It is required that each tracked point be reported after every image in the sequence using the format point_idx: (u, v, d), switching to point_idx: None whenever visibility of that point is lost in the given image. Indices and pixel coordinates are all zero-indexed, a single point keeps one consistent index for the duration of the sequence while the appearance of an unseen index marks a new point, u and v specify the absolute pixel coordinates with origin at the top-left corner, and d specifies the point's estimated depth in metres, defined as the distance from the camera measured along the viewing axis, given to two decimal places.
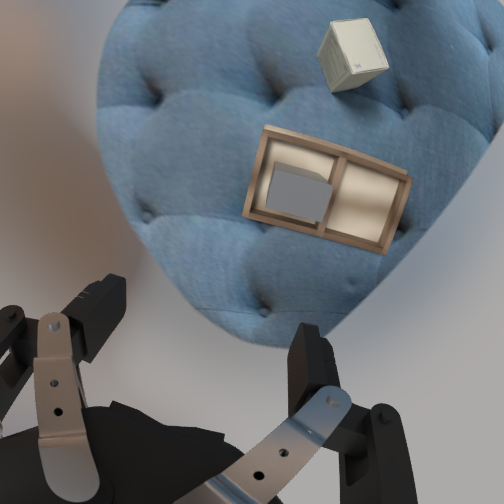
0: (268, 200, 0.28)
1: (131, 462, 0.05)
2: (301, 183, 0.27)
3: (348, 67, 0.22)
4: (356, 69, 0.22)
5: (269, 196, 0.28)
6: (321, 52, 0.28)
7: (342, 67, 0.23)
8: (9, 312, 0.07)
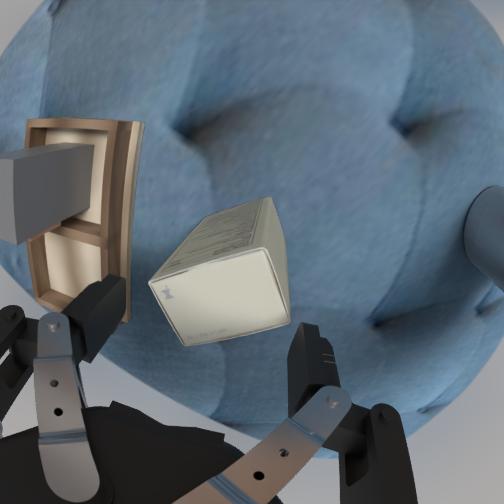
0: None
1: (131, 462, 0.05)
2: (8, 200, 0.14)
3: (162, 274, 0.13)
4: (158, 290, 0.13)
5: None
6: (258, 207, 0.20)
7: (181, 256, 0.15)
8: (9, 312, 0.07)
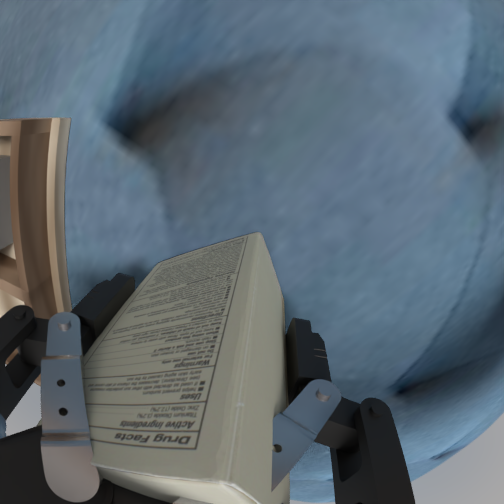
0: None
1: None
2: None
3: None
4: None
5: None
6: (237, 261, 0.11)
7: None
8: (19, 312, 0.07)
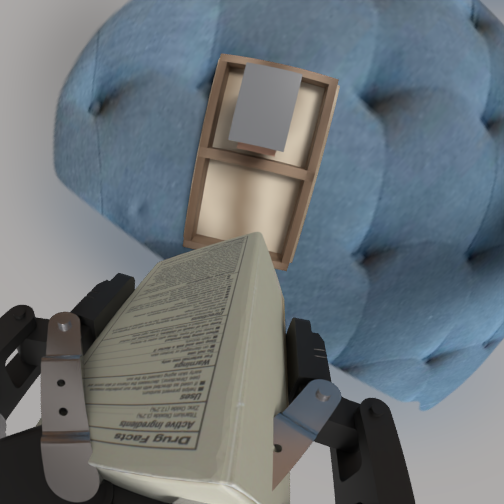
0: (257, 65, 0.17)
1: None
2: (284, 107, 0.18)
3: None
4: None
5: (263, 66, 0.17)
6: (237, 261, 0.11)
7: None
8: (19, 312, 0.07)
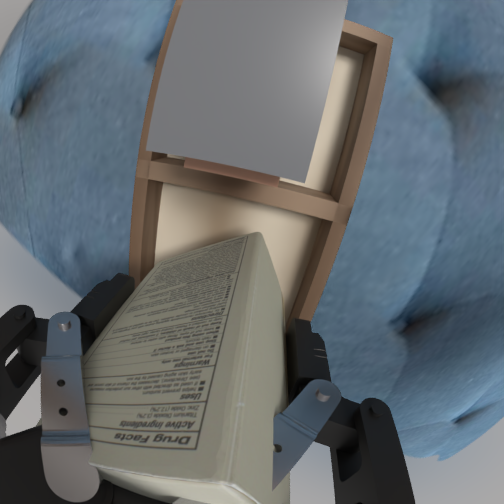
0: None
1: None
2: (308, 51, 0.05)
3: None
4: None
5: None
6: (237, 261, 0.11)
7: None
8: (19, 312, 0.07)
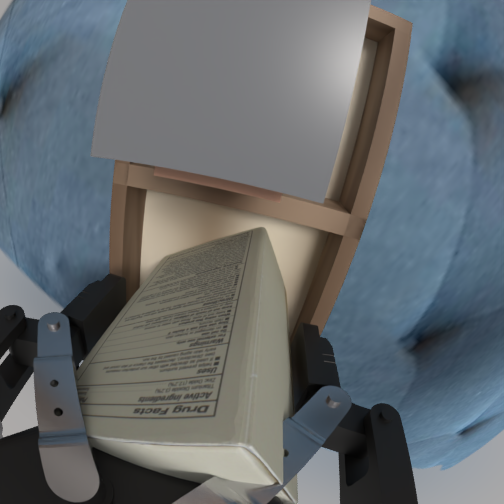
0: None
1: None
2: (326, 7, 0.03)
3: None
4: None
5: None
6: (244, 253, 0.12)
7: (94, 376, 0.07)
8: (9, 313, 0.07)
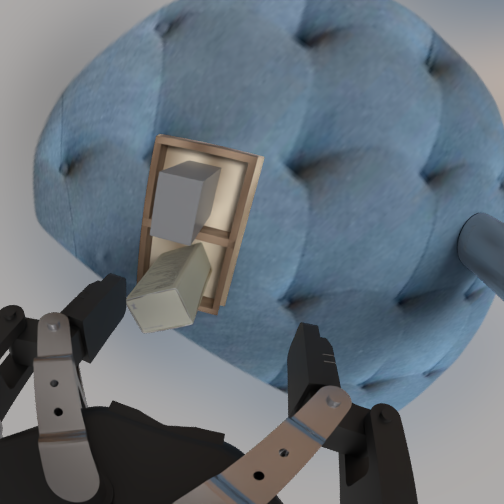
0: (167, 175, 0.23)
1: (131, 462, 0.05)
2: (189, 211, 0.24)
3: (131, 297, 0.26)
4: (129, 304, 0.26)
5: (171, 176, 0.23)
6: (189, 253, 0.33)
7: (141, 286, 0.28)
8: (9, 313, 0.07)
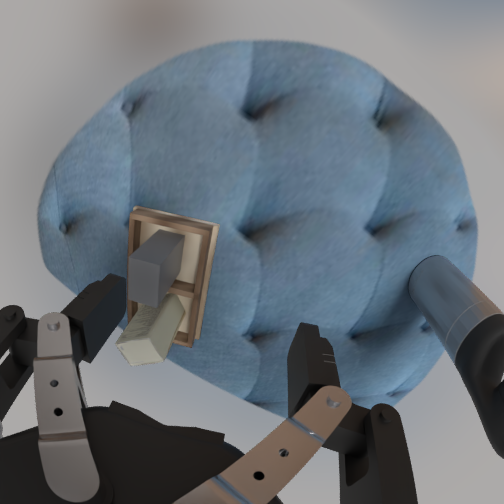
0: (134, 259, 0.31)
1: (131, 462, 0.05)
2: (153, 285, 0.32)
3: (119, 341, 0.34)
4: (118, 346, 0.34)
5: (137, 260, 0.31)
6: (164, 303, 0.41)
7: (127, 333, 0.36)
8: (9, 312, 0.07)
